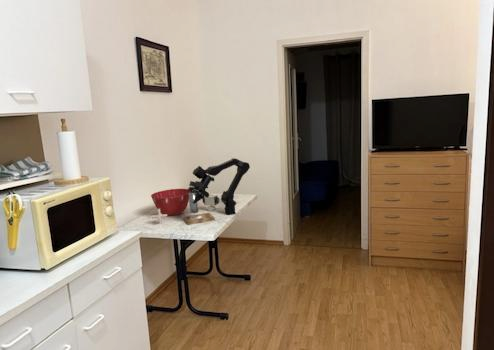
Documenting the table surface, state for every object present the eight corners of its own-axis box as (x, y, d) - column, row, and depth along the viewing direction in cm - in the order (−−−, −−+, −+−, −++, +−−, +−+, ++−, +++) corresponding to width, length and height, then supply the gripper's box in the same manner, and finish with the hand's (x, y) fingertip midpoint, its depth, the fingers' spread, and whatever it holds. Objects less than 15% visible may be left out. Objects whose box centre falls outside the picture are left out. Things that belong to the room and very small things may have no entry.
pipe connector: (153, 222, 256) (152, 207, 254) (168, 220, 256) (167, 206, 255) (151, 226, 246) (149, 211, 244) (166, 225, 247) (165, 210, 245)
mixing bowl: (171, 220, 256) (169, 198, 253) (145, 216, 273) (142, 195, 271) (200, 210, 278) (198, 190, 275) (174, 206, 295) (172, 187, 293)
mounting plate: (209, 215, 262) (209, 212, 262) (214, 220, 249) (214, 216, 249) (184, 219, 256) (183, 216, 256) (188, 224, 243) (187, 221, 243)
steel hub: (198, 210, 249) (196, 191, 247) (198, 212, 245) (196, 193, 242) (190, 211, 249) (188, 192, 247) (190, 213, 244) (188, 193, 242)
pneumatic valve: (217, 211, 270) (216, 195, 268) (203, 211, 275) (201, 195, 273) (221, 209, 276) (219, 193, 274) (206, 209, 280) (205, 193, 278)
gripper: (189, 174, 253) (176, 194, 248) (203, 177, 238) (189, 198, 233) (200, 184, 258) (188, 203, 254) (214, 187, 244) (202, 207, 239)
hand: (191, 202), depth 245 cm, fingers closed on steel hub, 5 cm apart
